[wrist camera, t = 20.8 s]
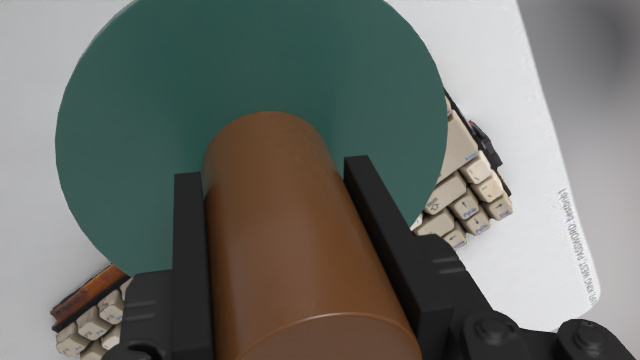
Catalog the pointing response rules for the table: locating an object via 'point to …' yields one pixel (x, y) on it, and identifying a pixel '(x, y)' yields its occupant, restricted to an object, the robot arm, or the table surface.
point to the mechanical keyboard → (437, 217)
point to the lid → (258, 160)
